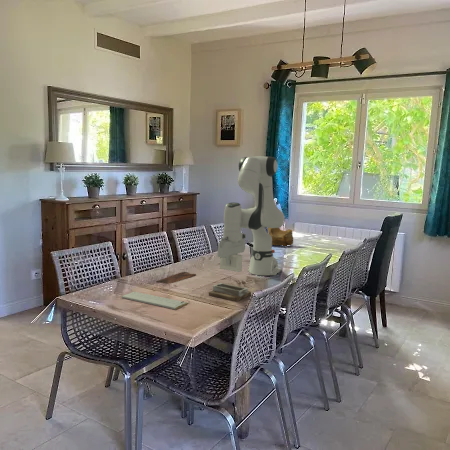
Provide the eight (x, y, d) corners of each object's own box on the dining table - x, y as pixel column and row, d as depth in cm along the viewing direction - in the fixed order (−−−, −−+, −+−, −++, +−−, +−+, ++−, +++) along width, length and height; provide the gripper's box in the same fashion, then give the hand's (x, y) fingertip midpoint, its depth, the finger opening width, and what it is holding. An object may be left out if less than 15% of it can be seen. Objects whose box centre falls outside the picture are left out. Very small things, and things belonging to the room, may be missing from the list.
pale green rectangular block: (223, 267, 223) (223, 251, 222) (241, 271, 217) (242, 255, 216) (219, 268, 221) (220, 252, 220) (238, 272, 215) (239, 256, 214)
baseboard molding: (137, 293, 222) (121, 299, 211) (137, 287, 221) (121, 293, 211) (190, 303, 207) (175, 311, 197) (190, 297, 207) (175, 304, 196)
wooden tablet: (167, 283, 236) (153, 277, 241) (167, 287, 236) (153, 281, 241) (197, 273, 258) (184, 269, 263) (197, 277, 258) (184, 272, 263)
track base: (224, 288, 231) (224, 281, 230) (250, 294, 222) (251, 286, 222) (208, 295, 219) (209, 287, 219) (236, 301, 211) (236, 293, 210)
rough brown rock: (259, 245, 360) (259, 227, 357) (270, 241, 372) (271, 224, 369) (283, 251, 345) (283, 232, 342) (294, 246, 358) (295, 228, 354)
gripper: (225, 239, 206) (224, 268, 208) (247, 234, 223) (246, 261, 225) (214, 237, 210) (213, 266, 212) (237, 233, 227) (236, 259, 229)
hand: (230, 263), depth 219 cm, fingers closed on pale green rectangular block, 3 cm apart
